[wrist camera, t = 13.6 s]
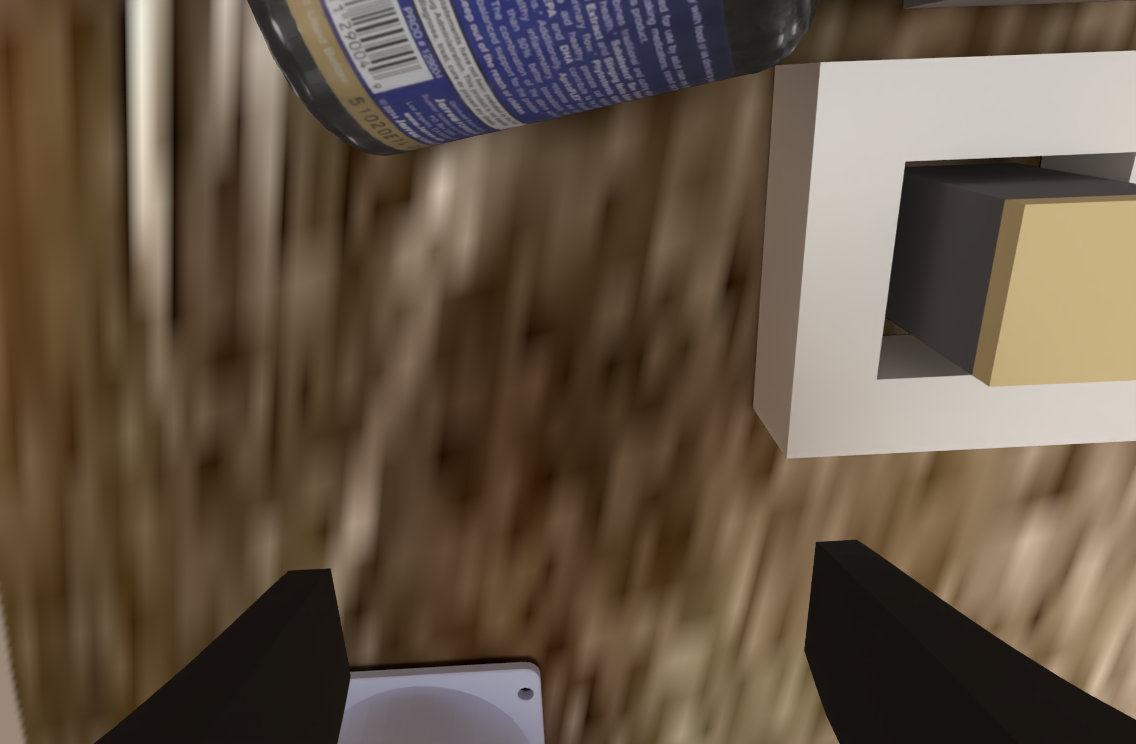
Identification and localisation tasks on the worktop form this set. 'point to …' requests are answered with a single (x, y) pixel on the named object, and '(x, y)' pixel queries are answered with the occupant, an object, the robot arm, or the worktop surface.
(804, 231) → the socket
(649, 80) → the pill bottle
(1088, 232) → the plug
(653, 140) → the worktop surface
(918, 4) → the grey square block
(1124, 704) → the worktop surface
